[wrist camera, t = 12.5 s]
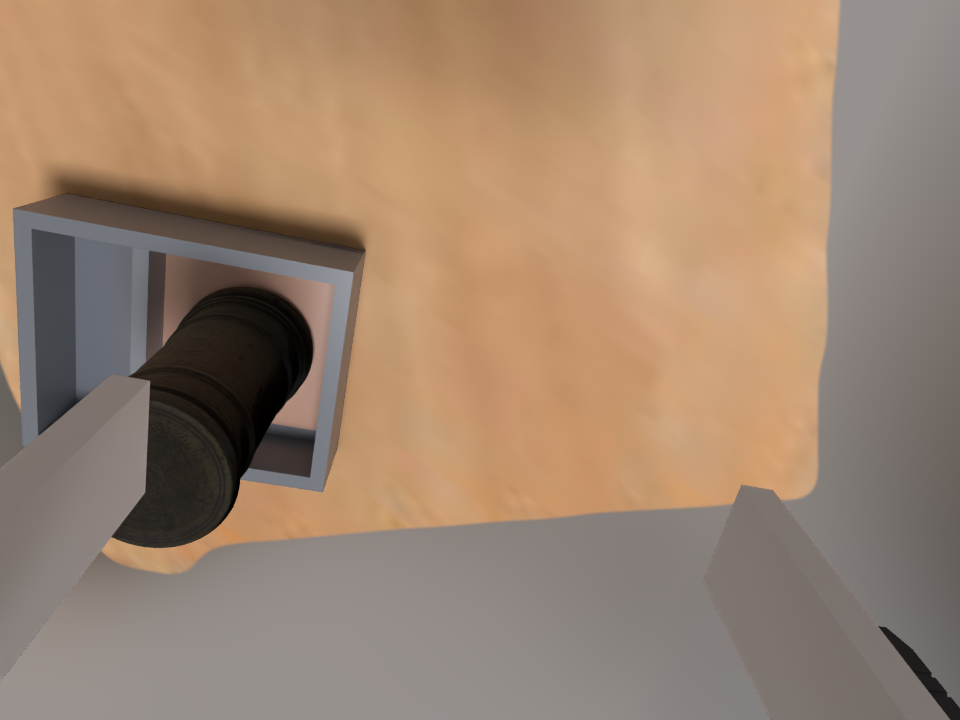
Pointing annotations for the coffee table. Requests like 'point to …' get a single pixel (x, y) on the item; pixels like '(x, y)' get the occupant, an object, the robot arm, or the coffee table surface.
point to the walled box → (173, 312)
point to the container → (213, 409)
